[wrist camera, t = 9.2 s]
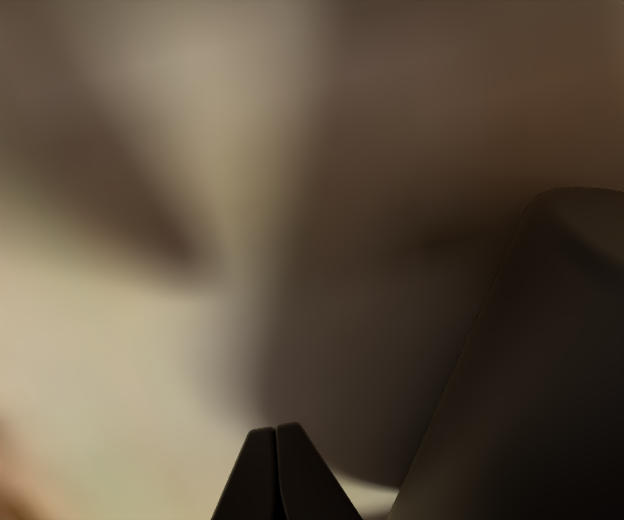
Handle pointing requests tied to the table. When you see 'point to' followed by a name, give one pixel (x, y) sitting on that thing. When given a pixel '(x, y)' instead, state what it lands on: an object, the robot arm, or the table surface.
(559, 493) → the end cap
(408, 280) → the table surface
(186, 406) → the table surface
